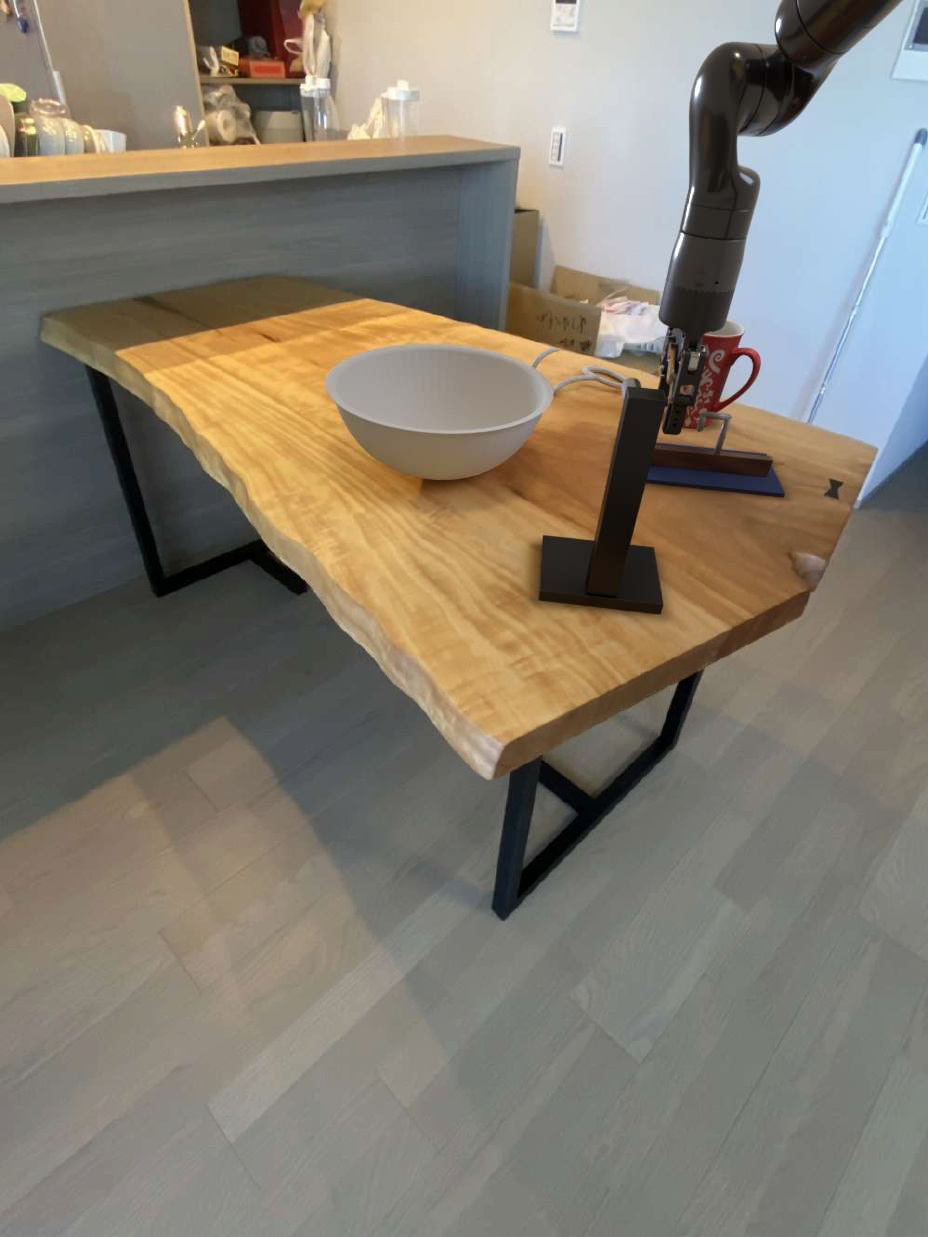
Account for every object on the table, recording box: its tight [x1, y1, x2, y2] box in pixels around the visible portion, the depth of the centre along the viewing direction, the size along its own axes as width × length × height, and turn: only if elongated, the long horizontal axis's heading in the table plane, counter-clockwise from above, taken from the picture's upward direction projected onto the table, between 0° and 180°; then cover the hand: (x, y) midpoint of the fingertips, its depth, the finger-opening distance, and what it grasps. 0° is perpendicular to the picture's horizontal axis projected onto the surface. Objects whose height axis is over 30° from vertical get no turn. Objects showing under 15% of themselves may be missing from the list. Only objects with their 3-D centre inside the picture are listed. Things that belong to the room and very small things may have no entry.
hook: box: [531, 347, 629, 394], centre depth 108 cm, size 7×9×20 cm
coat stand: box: [538, 377, 666, 615], centre depth 65 cm, size 12×10×21 cm
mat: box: [646, 442, 786, 498], centre depth 91 cm, size 20×11×1 cm, turn 83°
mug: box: [663, 319, 762, 429], centre depth 98 cm, size 13×9×14 cm
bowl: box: [324, 343, 555, 481], centre depth 86 cm, size 27×27×10 cm
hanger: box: [651, 412, 774, 477], centre depth 88 cm, size 17×1×8 cm, turn 83°
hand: (666, 418), depth 86 cm, fingers open, 8 cm apart
